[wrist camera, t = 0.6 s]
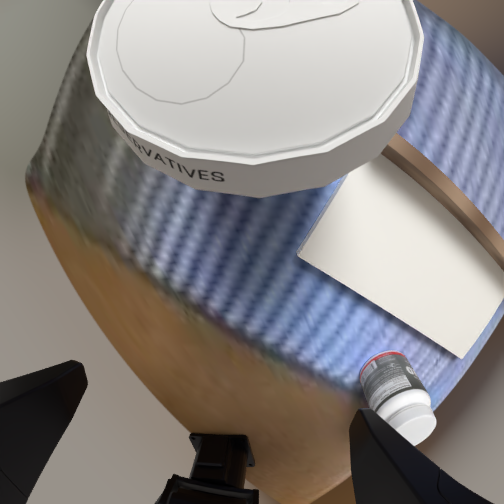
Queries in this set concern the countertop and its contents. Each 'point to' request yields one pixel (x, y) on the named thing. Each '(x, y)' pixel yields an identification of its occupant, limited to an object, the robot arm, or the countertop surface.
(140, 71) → the supplement can
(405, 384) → the pill bottle
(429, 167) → the shelf board
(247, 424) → the countertop surface
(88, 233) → the countertop surface
